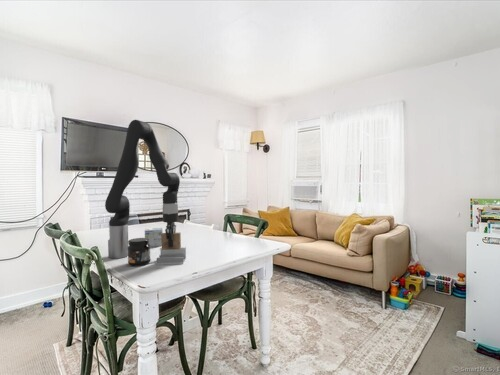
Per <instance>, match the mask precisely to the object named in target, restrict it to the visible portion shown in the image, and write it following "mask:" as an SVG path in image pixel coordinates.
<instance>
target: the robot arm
mask: <svg viewBox="0 0 500 375" xmlns="http://www.w3.org/2000/svg"><path fill="white" fill-rule="evenodd" d="M126 130H127V132H126V136H125V141H124V146H123V150H122V154H121V157H120V159H119V163H118V165H117V170H116V174H115V176H114V179H113V183H112V185H111V187H110V190H109V192H108V195H107V197H106V200H105V203H104V207H105V211H106V212H107V213H109V214H113V215H114V216H113V217H112V218H111V219H109V221H108V228H109V230H108V232H109V234H108V235H109V239H108V240H107V251H108V252H107V254H108V256H107V257H108V258H109V259H122V258H126V257H127V258H128V246H129V242H128V241H129V220H130V209H131V208H130V206H131V204H130V200H129V198H128V197H127V196H125V195H123V194H124V191H125V189H126V188H127V187H128V185H129V184H130V183H131V182H132V181H133V180H134V178H135V176H136V175H137V171H138V167H139V157H138V153H137V148H138V147H137V146H138V144H139V140H143V142H144V143H145V144H146V146H147V148H148V157H149V160H150V163H151V164H152V165H153V168H154V169H155V172H156V177H157V180H158V183H159V184H160V185H161V186H162V187H167V189H166V191H164V192H163V193H162V221H163V223H166V225H165V230H164V231H165V232H164V233H166V238H167V239H168V247H173V235H174V233H177V231H176V230H177V225H176V224H175V223H176V222H179V207H178V193H179V190H180V188H179V187H180V183H181V182H180V181H181V179H180V176H179V175H178V173H176V172H168V170H169V169H170V165H169V162H168V160H167V158H166V157H165V155H164V153H163V152H162V150H161V148H160V145H159V142H158V140H157V137H156V135H155V133H154V129H153V127H152V125H151V124H149V123H148V122H145V121H142V120H139V119H133V120H131V122H130V123H129V124H128V128H127V129H126ZM169 236H170V237H169Z"/></svg>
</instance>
